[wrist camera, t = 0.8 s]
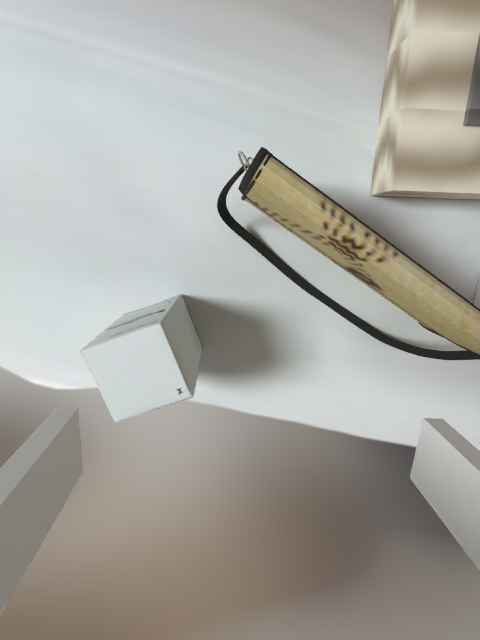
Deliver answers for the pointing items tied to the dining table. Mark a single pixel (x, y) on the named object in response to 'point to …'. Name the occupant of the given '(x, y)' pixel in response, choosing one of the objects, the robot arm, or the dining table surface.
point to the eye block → (431, 102)
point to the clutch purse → (353, 256)
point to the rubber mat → (477, 296)
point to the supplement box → (146, 359)
